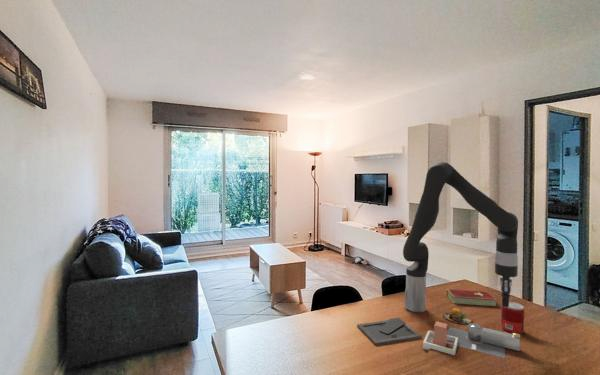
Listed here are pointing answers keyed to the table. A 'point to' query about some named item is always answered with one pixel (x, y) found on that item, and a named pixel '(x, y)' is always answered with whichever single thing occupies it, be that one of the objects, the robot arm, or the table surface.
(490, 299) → the hardcover book
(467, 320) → the burger
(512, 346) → the crank
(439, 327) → the block
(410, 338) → the picture frame
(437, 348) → the tray
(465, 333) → the crank plate
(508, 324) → the canned food
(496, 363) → the table surface
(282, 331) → the table surface
